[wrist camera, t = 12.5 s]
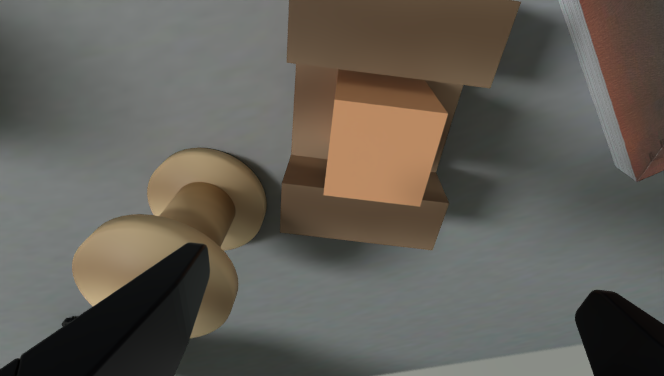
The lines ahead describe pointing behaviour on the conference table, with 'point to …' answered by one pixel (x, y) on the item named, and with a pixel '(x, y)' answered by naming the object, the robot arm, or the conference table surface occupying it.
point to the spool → (179, 230)
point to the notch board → (386, 59)
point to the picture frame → (624, 76)
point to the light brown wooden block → (382, 138)
